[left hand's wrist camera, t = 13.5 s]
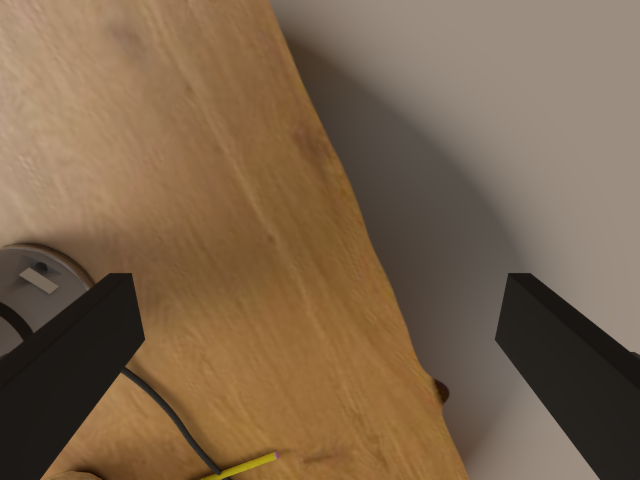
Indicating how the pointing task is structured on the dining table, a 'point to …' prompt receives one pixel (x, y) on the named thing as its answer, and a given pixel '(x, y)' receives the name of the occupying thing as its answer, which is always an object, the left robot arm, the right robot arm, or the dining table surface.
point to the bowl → (74, 476)
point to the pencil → (243, 466)
